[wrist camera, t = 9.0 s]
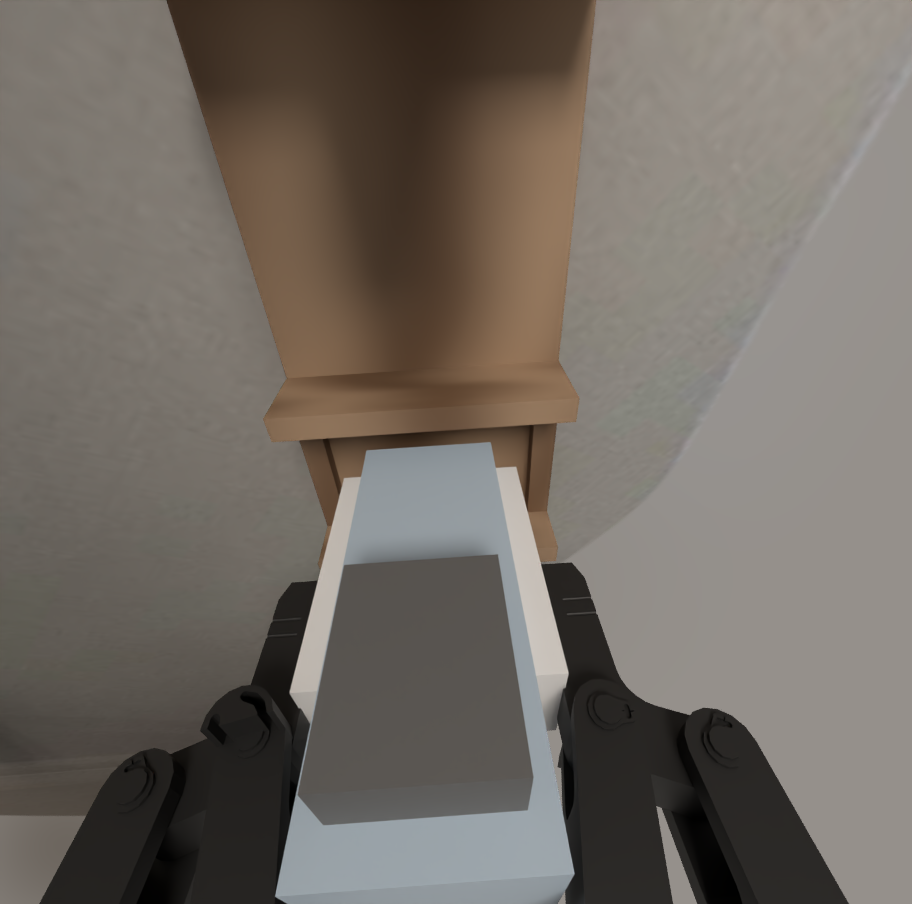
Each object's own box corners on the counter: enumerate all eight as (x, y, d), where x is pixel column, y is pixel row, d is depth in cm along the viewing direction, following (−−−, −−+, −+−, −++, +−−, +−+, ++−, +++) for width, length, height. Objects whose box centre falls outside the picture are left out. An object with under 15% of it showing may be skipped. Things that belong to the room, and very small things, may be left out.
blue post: (384, 535, 16) (339, 933, 8) (358, 412, 13) (237, 875, 5) (490, 528, 16) (549, 917, 8) (490, 404, 13) (589, 847, 5)
